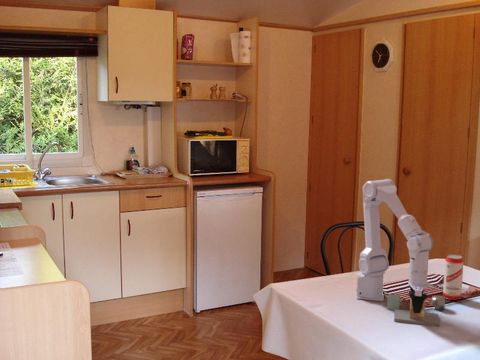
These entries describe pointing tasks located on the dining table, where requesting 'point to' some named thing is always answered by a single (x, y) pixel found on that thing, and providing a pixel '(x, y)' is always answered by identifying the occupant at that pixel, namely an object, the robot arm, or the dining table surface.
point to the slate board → (405, 317)
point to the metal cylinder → (438, 303)
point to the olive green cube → (393, 302)
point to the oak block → (417, 315)
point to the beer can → (453, 277)
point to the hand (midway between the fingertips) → (416, 308)
